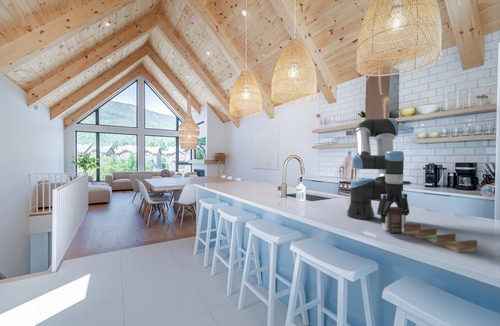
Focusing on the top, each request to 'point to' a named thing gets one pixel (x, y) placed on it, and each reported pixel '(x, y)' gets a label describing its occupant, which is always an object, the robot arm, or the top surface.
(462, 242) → the wooden stepped piece
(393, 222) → the box
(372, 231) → the top surface
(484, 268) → the top surface
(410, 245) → the top surface
